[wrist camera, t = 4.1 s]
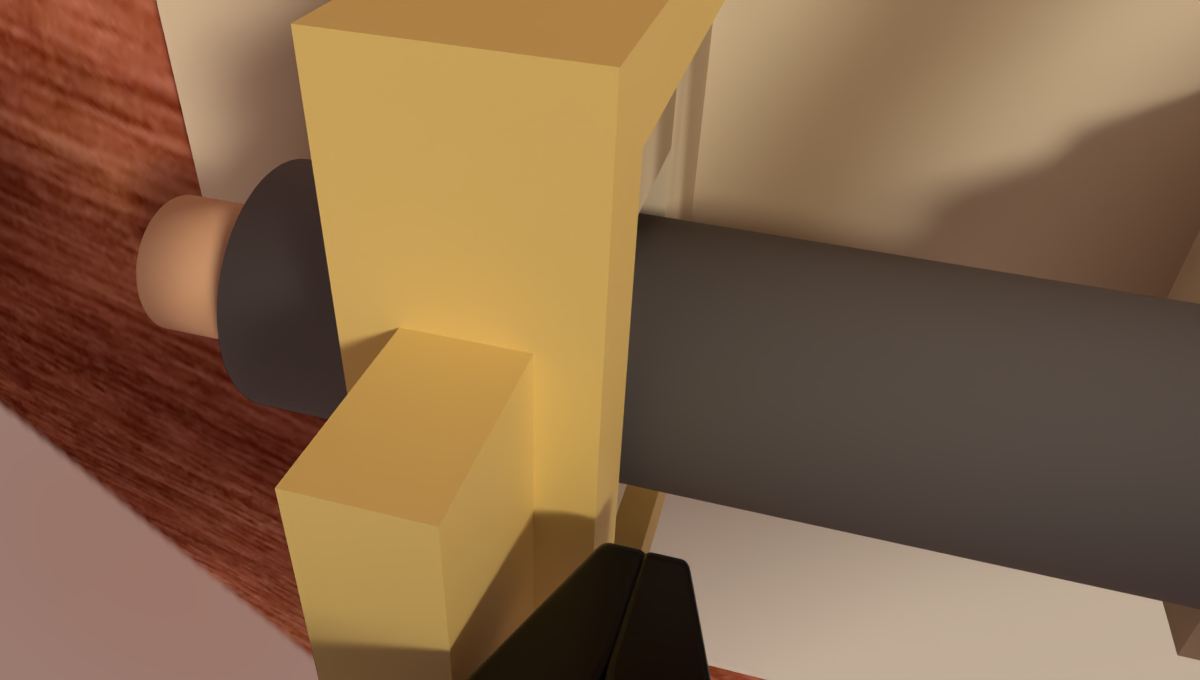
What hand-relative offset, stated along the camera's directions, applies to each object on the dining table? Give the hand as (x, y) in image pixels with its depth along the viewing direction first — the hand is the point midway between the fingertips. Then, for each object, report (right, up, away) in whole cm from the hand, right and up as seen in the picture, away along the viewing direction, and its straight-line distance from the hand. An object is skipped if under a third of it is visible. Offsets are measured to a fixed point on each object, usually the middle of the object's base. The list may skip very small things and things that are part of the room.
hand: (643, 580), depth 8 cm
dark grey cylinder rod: (+3, +1, +2) cm, 4 cm away
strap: (0, +5, +7) cm, 8 cm away
